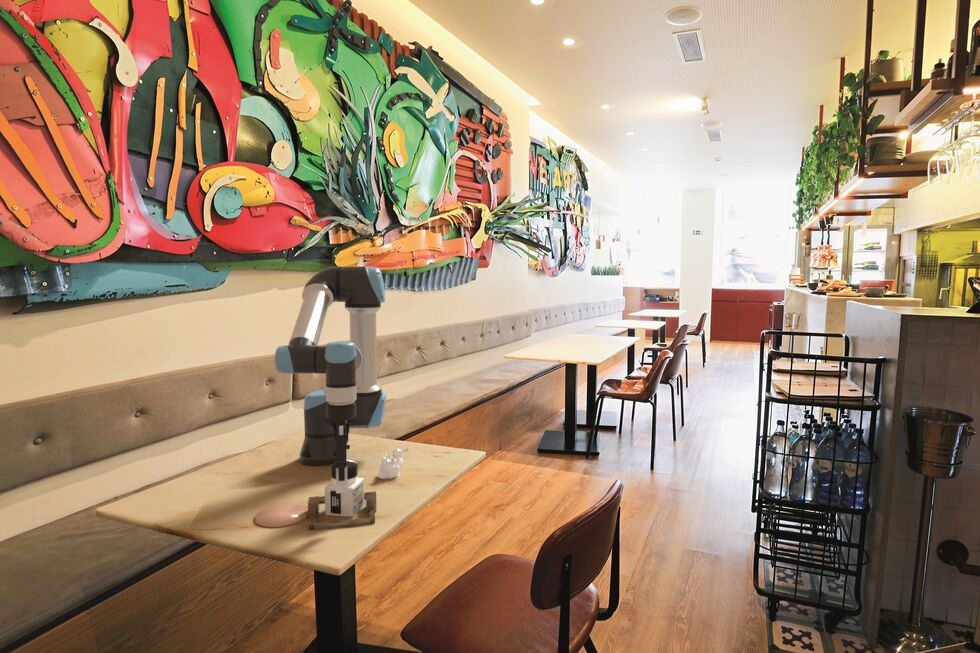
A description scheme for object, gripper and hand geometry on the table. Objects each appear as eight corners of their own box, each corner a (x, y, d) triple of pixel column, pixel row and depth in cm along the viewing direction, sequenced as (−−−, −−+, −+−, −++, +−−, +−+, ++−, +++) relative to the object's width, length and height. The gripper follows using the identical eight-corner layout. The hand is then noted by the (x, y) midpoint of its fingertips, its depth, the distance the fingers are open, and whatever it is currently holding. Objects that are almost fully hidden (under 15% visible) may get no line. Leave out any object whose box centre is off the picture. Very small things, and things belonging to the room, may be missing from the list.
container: (353, 517, 142) (352, 468, 140) (324, 515, 143) (323, 466, 141) (364, 505, 149) (364, 458, 148) (337, 503, 150) (336, 456, 149)
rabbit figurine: (400, 468, 178) (399, 438, 177) (417, 473, 174) (417, 442, 173) (372, 479, 168) (371, 448, 168) (390, 484, 164) (389, 452, 163)
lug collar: (311, 501, 151) (310, 487, 151) (374, 496, 155) (374, 482, 155) (306, 530, 134) (305, 514, 134) (377, 523, 138) (377, 507, 138)
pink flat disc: (259, 507, 147) (259, 505, 147) (310, 503, 150) (310, 501, 150) (250, 529, 134) (250, 527, 134) (307, 524, 137) (307, 522, 137)
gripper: (327, 393, 153) (329, 468, 155) (323, 413, 129) (325, 502, 131) (355, 392, 155) (356, 466, 157) (356, 412, 131) (357, 499, 133)
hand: (342, 483), depth 144 cm, fingers open, 13 cm apart
